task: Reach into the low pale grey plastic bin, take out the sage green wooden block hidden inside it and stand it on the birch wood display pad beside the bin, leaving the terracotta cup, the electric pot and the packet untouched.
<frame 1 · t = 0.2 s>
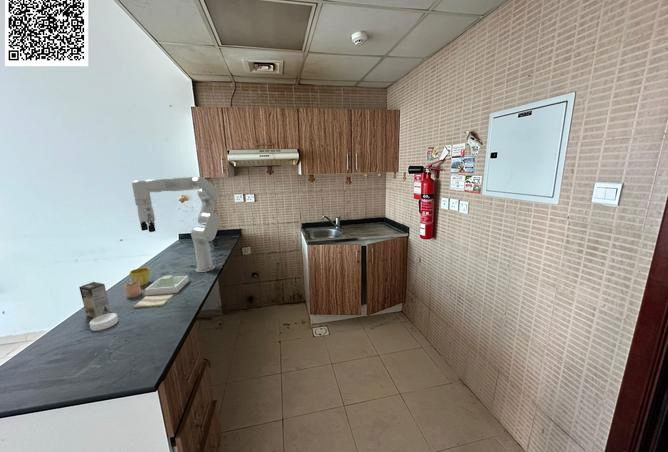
hand: (148, 230, 156), 36 cm above the countertop, tool pointing down, fingers open, 9 cm apart
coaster: (104, 325, 124), on the countertop
display pad: (154, 301, 145), on the countertop
terracotta cup: (134, 296, 153), on the countertop
plant pot: (142, 284, 169), on the countertop
coffee box: (99, 314, 134), on the countertop
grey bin: (168, 289, 161), on the countertop
sage block: (168, 287, 161), point 1 cm above the countertop, touching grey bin
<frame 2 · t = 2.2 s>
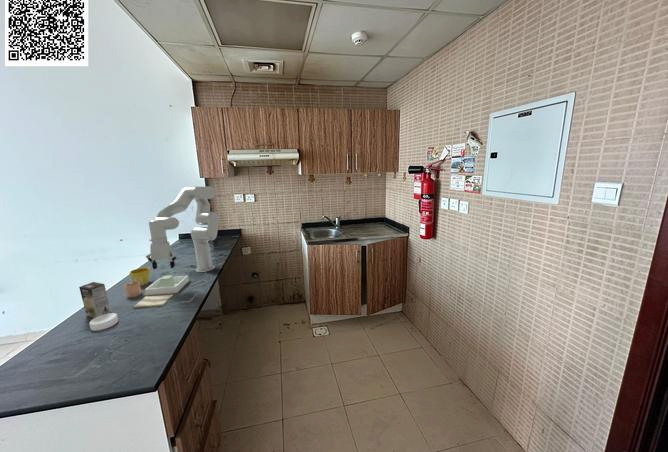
hand: (164, 268, 157), 14 cm above the countertop, tool pointing down, fingers open, 9 cm apart
nothing on the countertop moved.
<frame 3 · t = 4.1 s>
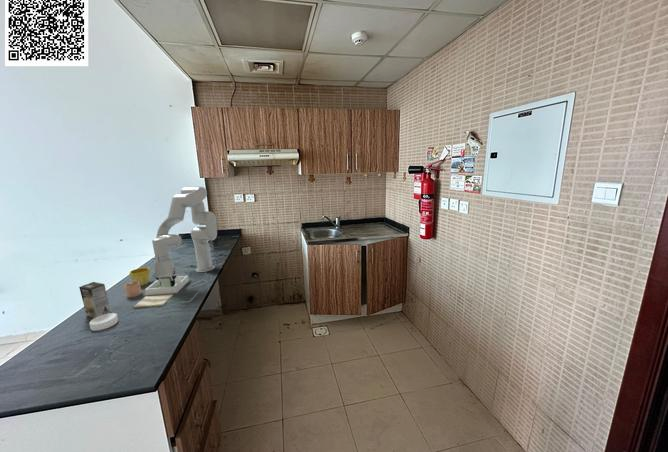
hand: (168, 286, 160), 2 cm above the countertop, tool pointing down, fingers closed on sage block, 5 cm apart
sage block: (168, 287, 161), point 1 cm above the countertop, touching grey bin, gripper
everything else where it was.
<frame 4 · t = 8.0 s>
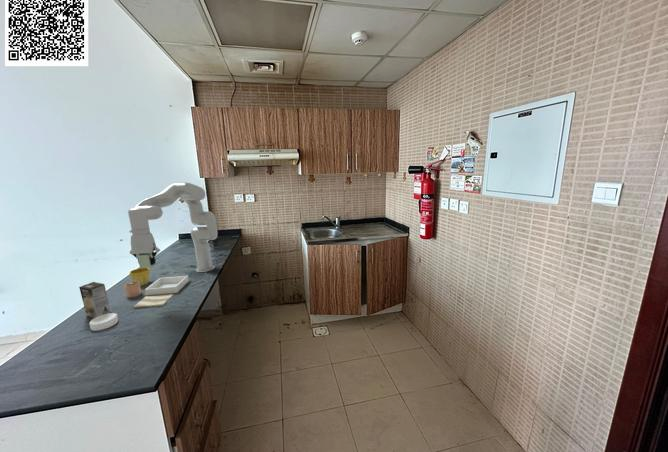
hand: (147, 264, 141), 22 cm above the countertop, tool pointing down, fingers closed on sage block, 5 cm apart
sage block: (147, 266, 141), point 21 cm above the countertop, touching gripper
everything else where it was.
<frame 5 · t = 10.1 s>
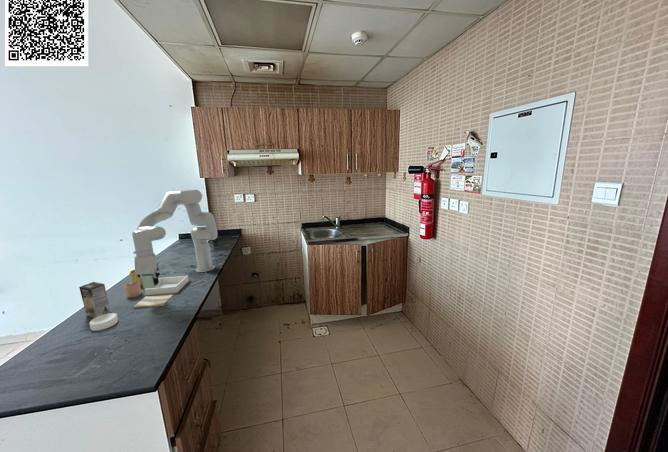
hand: (150, 284, 143), 10 cm above the countertop, tool pointing down, fingers closed on sage block, 5 cm apart
sage block: (151, 286, 143), point 9 cm above the countertop, touching gripper
everything else where it was.
when the fingers open (4 cm above the countertop, at t = 11.7 s): sage block drops 2 cm, resting on display pad.
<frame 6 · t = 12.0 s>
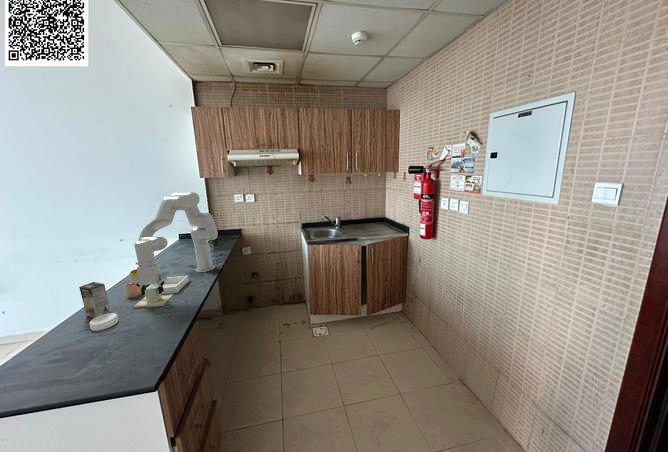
hand: (153, 293, 144), 5 cm above the countertop, tool pointing down, fingers open, 8 cm apart
sage block: (154, 299, 145), point 1 cm above the countertop, touching display pad
everything else where it was.
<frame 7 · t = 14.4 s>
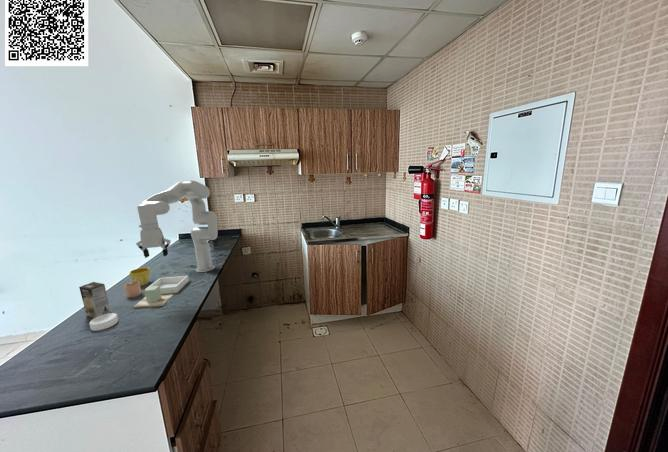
hand: (156, 256, 146), 24 cm above the countertop, tool pointing down, fingers open, 9 cm apart
nothing on the countertop moved.
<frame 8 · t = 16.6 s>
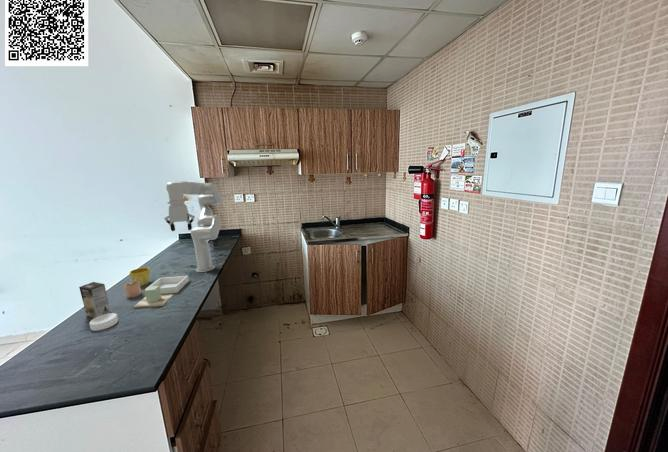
hand: (181, 230, 163), 34 cm above the countertop, tool pointing down, fingers open, 9 cm apart
nothing on the countertop moved.
at the end: sage block inside the target area on the display pad (0.1 cm from its centre), point 1.0 cm above the display pad's base; sage block tilted 0°; the gripper is holding nothing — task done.
